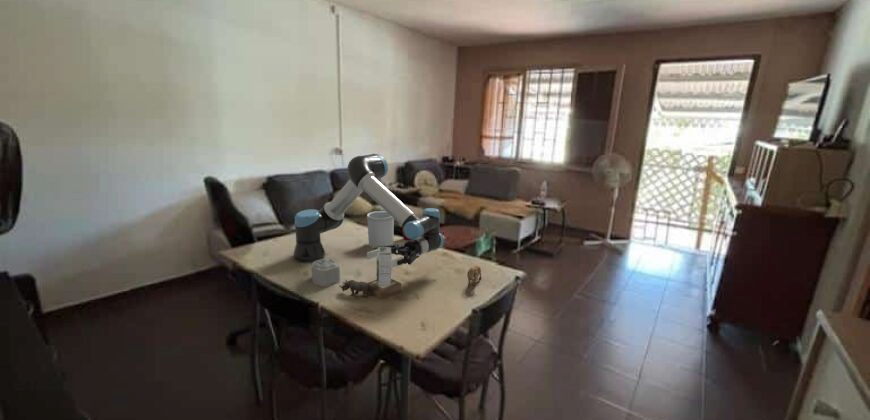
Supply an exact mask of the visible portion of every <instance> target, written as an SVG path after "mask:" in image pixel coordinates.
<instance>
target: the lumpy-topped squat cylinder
mask: <svg viewBox="0 0 870 420" xmlns="http://www.w3.org/2000/svg"><path fill="white" fill-rule="evenodd" d="M311 278H312V283H313V284H315V285H317V286H320V287H329V286H331V285H334V284H337V283H340V282H341V265H340V263H338V262H337V261H336V260H335V259H334V258H331V259H327V258H325V257H324V258H322V259H320V260H317V261H312V262H311Z"/></svg>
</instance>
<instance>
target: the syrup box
mask: <svg viewBox="0 0 870 420" xmlns="http://www.w3.org/2000/svg"><path fill="white" fill-rule="evenodd" d="M376 250H377V257H376V279H377V285H391V279H392V268H389V261H391V260H392V254H391V247H378V249H377V248H376Z"/></svg>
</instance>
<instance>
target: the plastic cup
mask: <svg viewBox="0 0 870 420" xmlns="http://www.w3.org/2000/svg"><path fill="white" fill-rule="evenodd" d="M400 226H401V225H400ZM401 232H402V237H403V240H404V241H410V240H413V239H409V238H407V237H406V236H405V234H404V231H403V227H402V226H401Z"/></svg>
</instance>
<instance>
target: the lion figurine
mask: <svg viewBox="0 0 870 420" xmlns="http://www.w3.org/2000/svg"><path fill="white" fill-rule="evenodd" d="M466 277H467V280H468V281H467V282H468V283H467V286H471V285H472V284H471V282H473V286H474V287H477V286H478V285H477V280H478V279H479V280H482V271H481V266H479V265H474V266H473V267H470V268H469V269H468V270H467V276H466Z"/></svg>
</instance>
